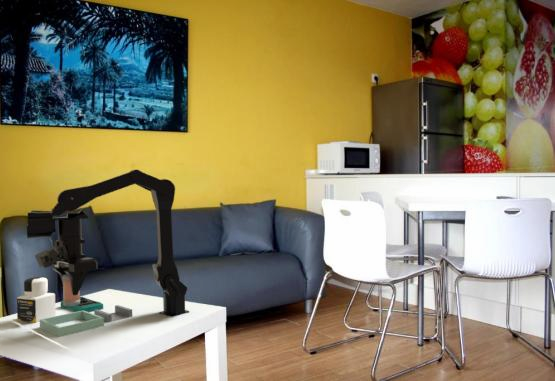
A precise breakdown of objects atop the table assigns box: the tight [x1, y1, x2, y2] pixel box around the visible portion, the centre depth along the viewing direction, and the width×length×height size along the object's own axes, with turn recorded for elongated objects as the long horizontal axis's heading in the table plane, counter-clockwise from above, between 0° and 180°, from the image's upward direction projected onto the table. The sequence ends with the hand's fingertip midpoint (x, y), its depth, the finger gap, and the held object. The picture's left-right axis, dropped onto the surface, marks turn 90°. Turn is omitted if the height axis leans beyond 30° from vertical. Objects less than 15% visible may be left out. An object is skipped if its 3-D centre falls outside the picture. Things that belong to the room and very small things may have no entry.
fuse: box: [62, 274, 81, 306], centre depth 128 cm, size 4×4×8 cm
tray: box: [39, 310, 105, 338], centre depth 128 cm, size 12×12×2 cm
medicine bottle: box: [16, 276, 57, 324], centre depth 136 cm, size 7×7×12 cm
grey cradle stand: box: [93, 304, 133, 323], centre depth 137 cm, size 8×7×2 cm
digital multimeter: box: [60, 296, 104, 313], centre depth 148 cm, size 7×15×3 cm, turn 48°
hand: (71, 293), depth 128 cm, fingers closed on fuse, 4 cm apart
